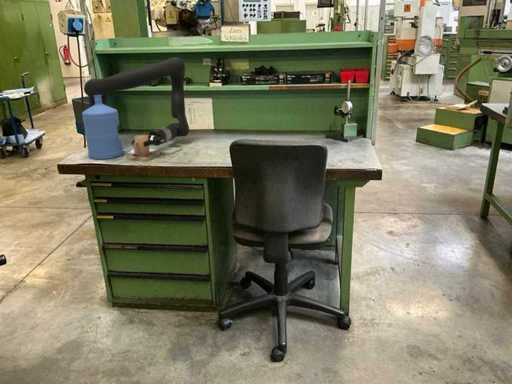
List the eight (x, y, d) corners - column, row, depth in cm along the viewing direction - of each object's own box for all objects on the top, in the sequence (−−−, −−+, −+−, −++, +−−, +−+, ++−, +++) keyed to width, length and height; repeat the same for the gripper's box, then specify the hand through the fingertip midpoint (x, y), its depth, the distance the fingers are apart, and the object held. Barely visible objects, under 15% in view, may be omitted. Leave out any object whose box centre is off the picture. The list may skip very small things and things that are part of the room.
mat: (153, 152, 200) (153, 151, 199) (165, 147, 208) (165, 146, 208) (171, 154, 196) (170, 152, 196) (182, 149, 204) (182, 147, 204)
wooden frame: (127, 159, 189) (126, 156, 188) (141, 153, 198) (141, 150, 197) (145, 161, 185) (145, 158, 185) (159, 155, 194) (159, 152, 193)
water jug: (104, 161, 186) (95, 98, 177) (81, 157, 194) (71, 96, 184) (130, 153, 199) (123, 94, 189) (107, 150, 206) (99, 92, 197)
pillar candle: (130, 159, 188) (128, 138, 185) (142, 155, 195) (139, 134, 192) (141, 161, 186) (139, 139, 182) (152, 156, 193) (150, 135, 189)
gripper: (147, 127, 203) (124, 134, 188) (172, 129, 197) (150, 136, 183) (148, 142, 205) (126, 150, 191) (173, 144, 200) (152, 153, 185)
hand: (138, 143), depth 187 cm, fingers closed on pillar candle, 6 cm apart
